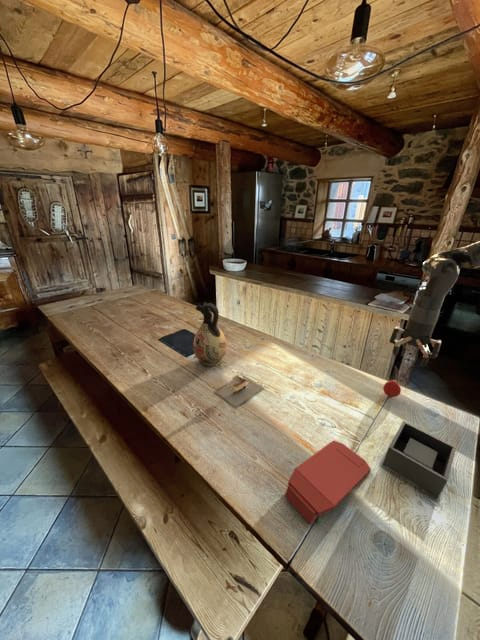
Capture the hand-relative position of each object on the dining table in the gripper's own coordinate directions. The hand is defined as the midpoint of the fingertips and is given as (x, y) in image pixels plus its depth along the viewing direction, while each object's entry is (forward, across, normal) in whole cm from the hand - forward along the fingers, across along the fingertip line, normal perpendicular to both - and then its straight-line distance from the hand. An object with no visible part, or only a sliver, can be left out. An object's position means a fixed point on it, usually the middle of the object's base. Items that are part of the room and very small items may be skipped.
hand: (408, 359), depth 93 cm
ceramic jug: (+19, +67, +37) cm, 79 cm away
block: (+18, -15, +24) cm, 33 cm away
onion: (+19, +2, -1) cm, 19 cm away
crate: (+19, -15, +24) cm, 34 cm away
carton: (+19, 0, +47) cm, 50 cm away
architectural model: (+19, +43, +41) cm, 62 cm away
